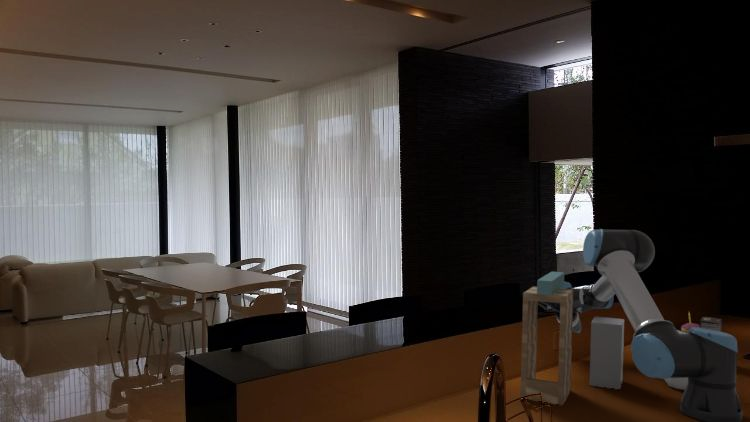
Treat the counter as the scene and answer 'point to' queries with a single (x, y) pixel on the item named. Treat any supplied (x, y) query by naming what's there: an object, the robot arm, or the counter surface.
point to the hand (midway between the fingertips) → (559, 291)
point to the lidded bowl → (677, 382)
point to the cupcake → (688, 326)
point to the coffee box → (711, 323)
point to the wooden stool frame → (529, 383)
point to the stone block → (606, 352)
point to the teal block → (550, 283)
